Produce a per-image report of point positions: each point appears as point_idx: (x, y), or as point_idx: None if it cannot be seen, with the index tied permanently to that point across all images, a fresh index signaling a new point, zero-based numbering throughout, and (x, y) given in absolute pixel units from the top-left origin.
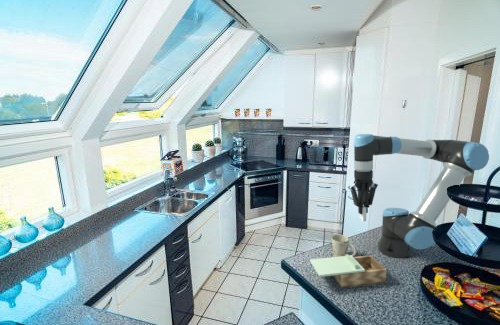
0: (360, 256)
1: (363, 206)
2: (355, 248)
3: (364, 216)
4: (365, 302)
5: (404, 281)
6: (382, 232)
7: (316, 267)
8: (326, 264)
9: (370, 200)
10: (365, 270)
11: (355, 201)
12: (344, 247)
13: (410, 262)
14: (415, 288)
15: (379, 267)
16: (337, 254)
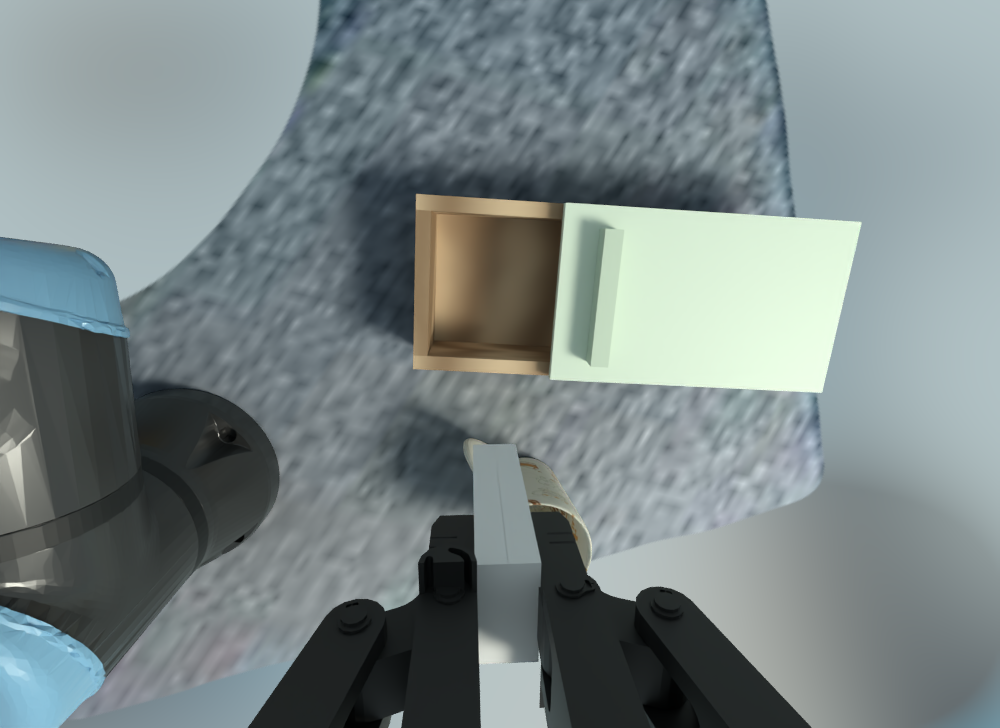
0: (486, 370)
1: (495, 619)
2: (468, 457)
3: (501, 475)
4: (625, 81)
5: (317, 188)
6: (196, 561)
7: (833, 303)
8: (758, 319)
9: (348, 695)
10: (477, 315)
11: (769, 709)
12: (527, 485)
13: (169, 340)
14: (297, 117)
15: (431, 248)
16: (555, 477)
